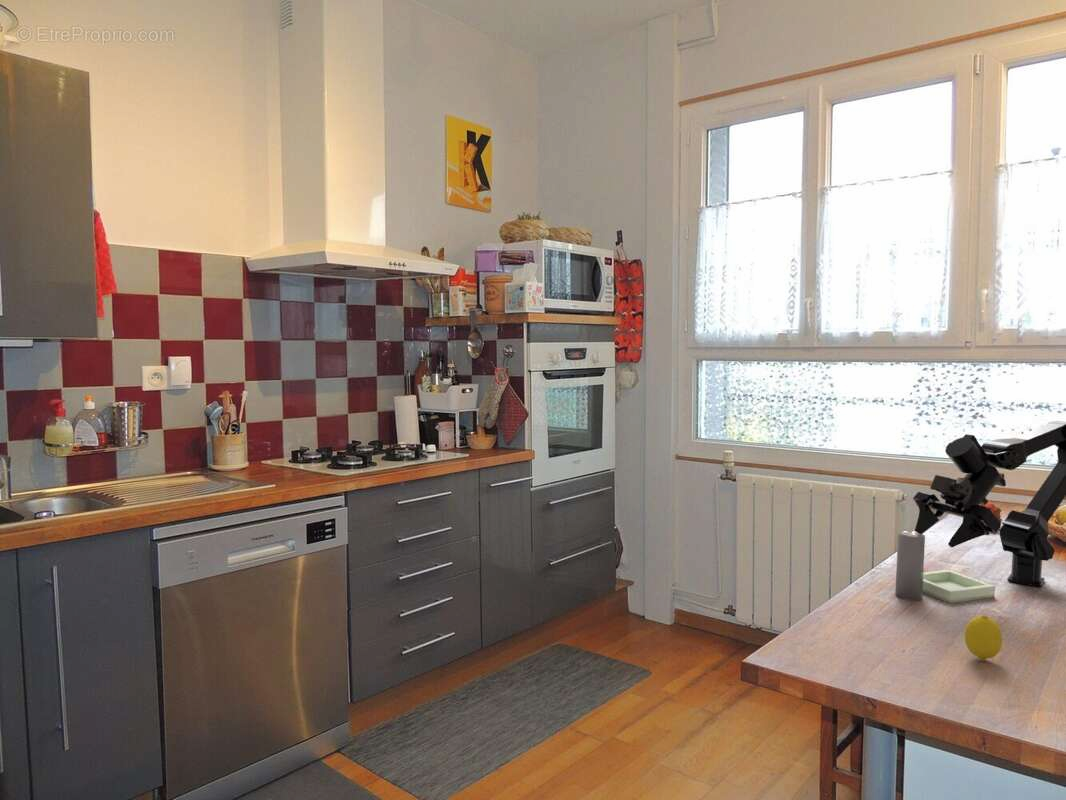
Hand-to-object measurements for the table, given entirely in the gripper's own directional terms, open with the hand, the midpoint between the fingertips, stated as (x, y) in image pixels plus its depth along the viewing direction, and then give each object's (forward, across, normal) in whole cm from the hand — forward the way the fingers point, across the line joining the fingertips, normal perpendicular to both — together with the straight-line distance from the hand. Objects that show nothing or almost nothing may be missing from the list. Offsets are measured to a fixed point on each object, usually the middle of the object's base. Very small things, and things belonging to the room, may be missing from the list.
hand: (932, 540), depth 163 cm
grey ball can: (+12, 0, +4) cm, 13 cm away
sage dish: (+4, 0, +12) cm, 13 cm away
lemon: (+22, +30, -4) cm, 37 cm away
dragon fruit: (-34, -40, +51) cm, 73 cm away
